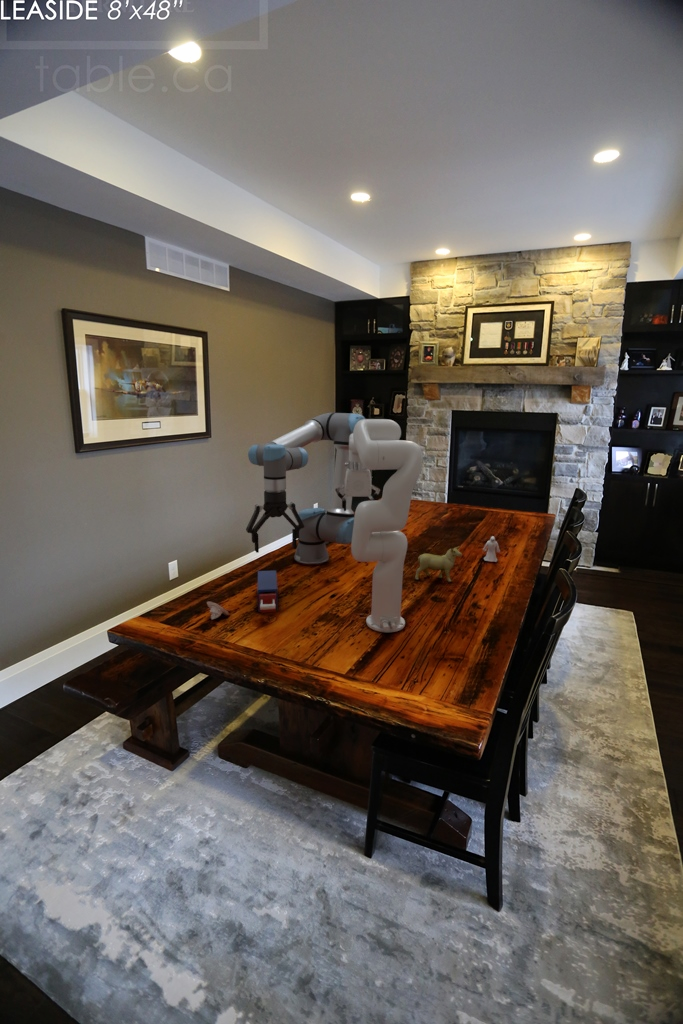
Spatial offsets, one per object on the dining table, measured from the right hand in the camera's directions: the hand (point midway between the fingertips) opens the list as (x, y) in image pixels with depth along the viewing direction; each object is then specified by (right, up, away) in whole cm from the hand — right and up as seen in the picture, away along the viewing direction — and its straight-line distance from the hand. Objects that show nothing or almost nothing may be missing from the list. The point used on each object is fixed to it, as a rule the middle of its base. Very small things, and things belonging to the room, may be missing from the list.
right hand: (357, 510), depth 193 cm
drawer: (-32, -33, -21) cm, 50 cm away
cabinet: (-32, -32, -14) cm, 48 cm away
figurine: (+61, -23, +32) cm, 73 cm away
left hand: (-29, -14, -17) cm, 37 cm away
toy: (+32, -28, +8) cm, 44 cm away
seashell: (-47, -36, -28) cm, 65 cm away
